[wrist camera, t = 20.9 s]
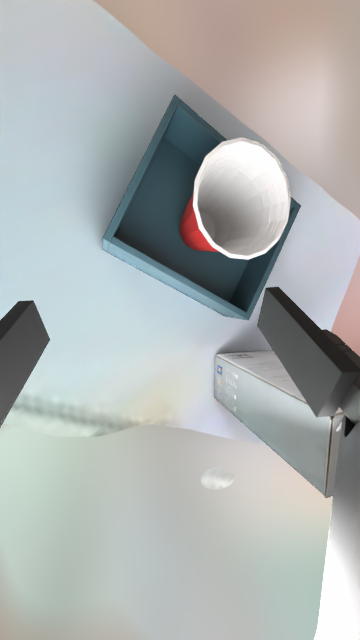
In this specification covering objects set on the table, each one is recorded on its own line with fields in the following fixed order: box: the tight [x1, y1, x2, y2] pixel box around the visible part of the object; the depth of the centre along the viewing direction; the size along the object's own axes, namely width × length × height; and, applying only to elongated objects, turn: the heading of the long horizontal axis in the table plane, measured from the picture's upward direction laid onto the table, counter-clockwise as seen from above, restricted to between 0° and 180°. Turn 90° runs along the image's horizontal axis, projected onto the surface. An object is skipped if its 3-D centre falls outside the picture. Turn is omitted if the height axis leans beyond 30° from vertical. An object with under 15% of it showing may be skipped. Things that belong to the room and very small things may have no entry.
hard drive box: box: [214, 350, 345, 498], centre depth 31 cm, size 16×8×20 cm, turn 89°
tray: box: [102, 95, 301, 320], centre depth 31 cm, size 21×18×6 cm
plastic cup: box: [180, 137, 291, 260], centre depth 27 cm, size 11×11×12 cm
